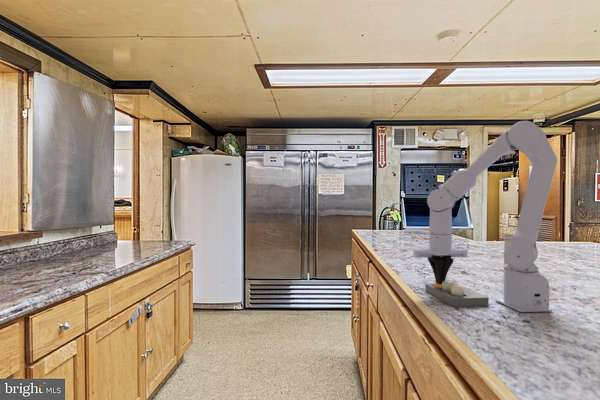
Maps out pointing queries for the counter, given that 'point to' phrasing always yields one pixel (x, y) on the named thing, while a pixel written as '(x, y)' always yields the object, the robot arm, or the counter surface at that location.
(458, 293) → the button ivory
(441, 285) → the button orange
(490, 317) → the counter surface
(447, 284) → the button sage
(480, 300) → the panel
